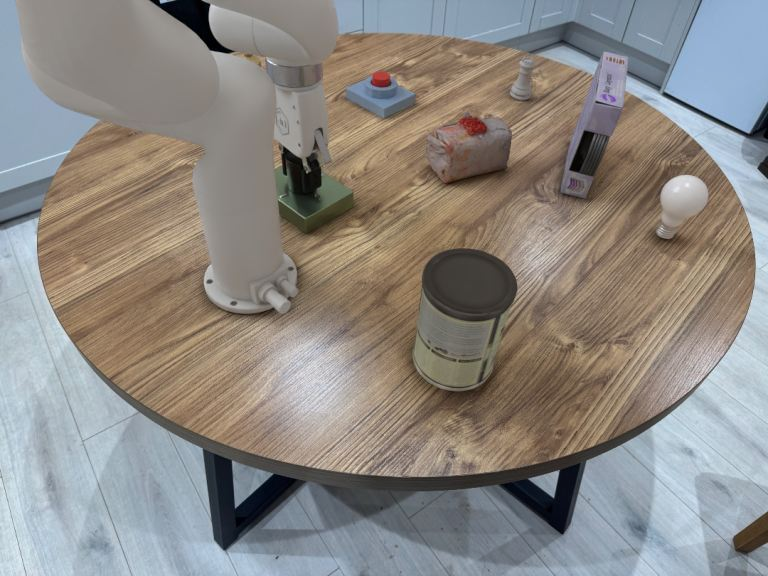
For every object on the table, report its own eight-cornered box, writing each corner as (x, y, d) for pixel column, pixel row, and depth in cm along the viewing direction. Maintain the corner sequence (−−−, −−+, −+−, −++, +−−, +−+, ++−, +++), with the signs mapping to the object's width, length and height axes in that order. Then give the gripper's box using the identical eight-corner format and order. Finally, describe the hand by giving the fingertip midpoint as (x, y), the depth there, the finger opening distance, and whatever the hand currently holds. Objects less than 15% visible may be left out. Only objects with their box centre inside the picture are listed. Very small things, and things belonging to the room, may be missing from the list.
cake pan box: (587, 204, 95) (624, 107, 83) (557, 197, 96) (589, 100, 84) (596, 146, 108) (629, 54, 95) (569, 140, 109) (599, 49, 96)
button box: (414, 104, 116) (416, 85, 113) (384, 118, 111) (385, 99, 109) (376, 84, 121) (377, 66, 118) (345, 98, 116) (345, 79, 114)
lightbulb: (657, 252, 88) (688, 194, 80) (634, 226, 92) (661, 168, 84) (692, 246, 89) (726, 189, 81) (667, 221, 93) (697, 164, 85)
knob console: (353, 206, 92) (353, 190, 90) (306, 234, 87) (305, 218, 84) (301, 171, 98) (300, 156, 96) (254, 195, 93) (251, 179, 90)
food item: (441, 189, 96) (449, 138, 89) (420, 164, 101) (426, 113, 94) (509, 173, 100) (522, 123, 93) (486, 150, 105) (496, 100, 98)
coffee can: (408, 326, 75) (418, 246, 65) (486, 326, 75) (508, 247, 65) (414, 392, 68) (426, 314, 58) (499, 392, 68) (526, 315, 58)
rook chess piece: (505, 93, 121) (513, 56, 115) (522, 89, 123) (531, 53, 117) (517, 103, 118) (525, 65, 113) (534, 99, 120) (544, 62, 114)
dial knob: (323, 187, 90) (321, 155, 86) (299, 198, 88) (296, 166, 84) (306, 173, 92) (304, 142, 88) (282, 184, 90) (279, 152, 86)
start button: (393, 84, 114) (394, 76, 113) (381, 90, 112) (381, 81, 111) (380, 78, 115) (381, 69, 114) (368, 83, 114) (368, 75, 112)
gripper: (237, 52, 79) (253, 164, 92) (307, 101, 70) (313, 217, 83) (283, 39, 82) (292, 149, 95) (355, 85, 74) (354, 198, 87)
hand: (302, 179), depth 89 cm, fingers closed on dial knob, 4 cm apart
